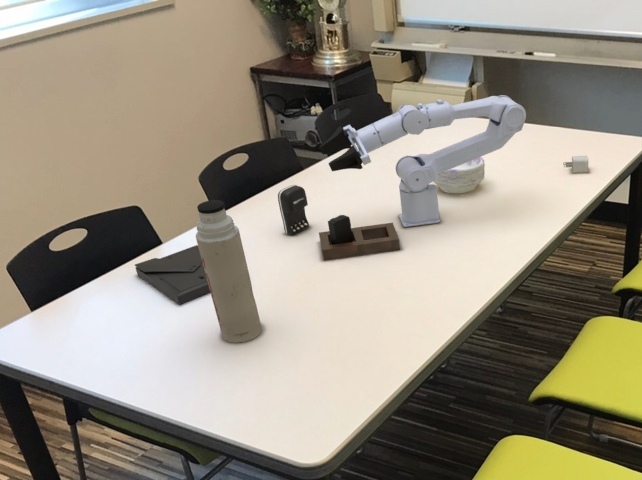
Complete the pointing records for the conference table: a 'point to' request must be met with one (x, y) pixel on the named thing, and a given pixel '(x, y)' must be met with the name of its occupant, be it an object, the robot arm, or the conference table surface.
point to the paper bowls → (462, 177)
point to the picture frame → (177, 275)
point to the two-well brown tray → (362, 242)
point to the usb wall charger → (578, 164)
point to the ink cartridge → (340, 230)
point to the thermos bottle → (227, 273)
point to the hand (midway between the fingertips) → (325, 159)
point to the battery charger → (293, 209)
